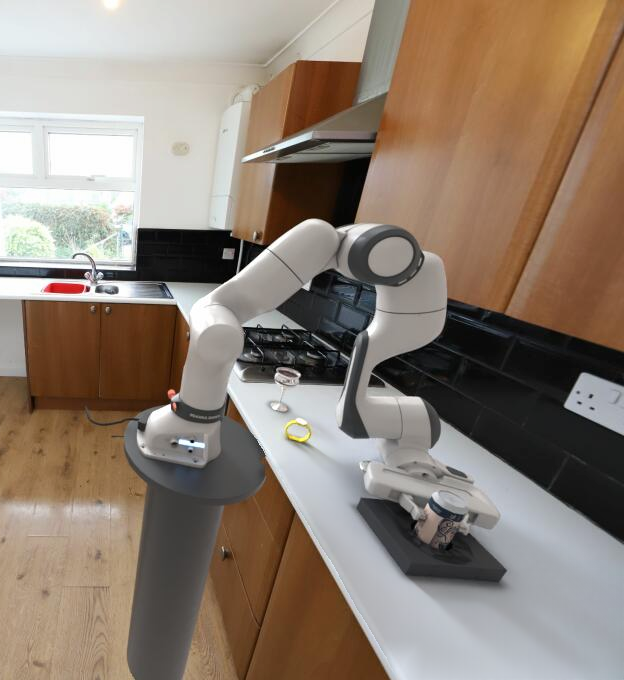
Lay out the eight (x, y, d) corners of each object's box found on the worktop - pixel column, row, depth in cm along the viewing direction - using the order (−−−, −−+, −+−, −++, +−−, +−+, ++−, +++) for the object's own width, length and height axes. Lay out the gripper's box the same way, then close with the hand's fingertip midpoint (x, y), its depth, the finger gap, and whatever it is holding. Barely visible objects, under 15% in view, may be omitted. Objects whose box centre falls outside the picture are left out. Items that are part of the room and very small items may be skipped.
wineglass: (294, 413, 105) (305, 378, 101) (272, 412, 105) (282, 377, 101) (284, 401, 112) (294, 367, 107) (263, 400, 111) (272, 366, 107)
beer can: (433, 562, 63) (462, 513, 58) (403, 540, 67) (428, 492, 62) (446, 552, 65) (476, 504, 60) (417, 531, 69) (442, 484, 64)
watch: (283, 439, 94) (288, 420, 91) (283, 433, 96) (288, 415, 94) (307, 446, 91) (314, 427, 89) (307, 440, 94) (313, 421, 91)
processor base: (405, 574, 60) (411, 563, 59) (356, 508, 73) (360, 497, 72) (499, 582, 60) (507, 570, 59) (433, 513, 73) (439, 503, 72)
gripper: (362, 447, 77) (379, 491, 65) (481, 478, 70) (525, 534, 58) (353, 469, 79) (367, 516, 67) (467, 501, 72) (506, 560, 60)
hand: (441, 524), depth 62 cm, fingers closed on beer can, 5 cm apart
